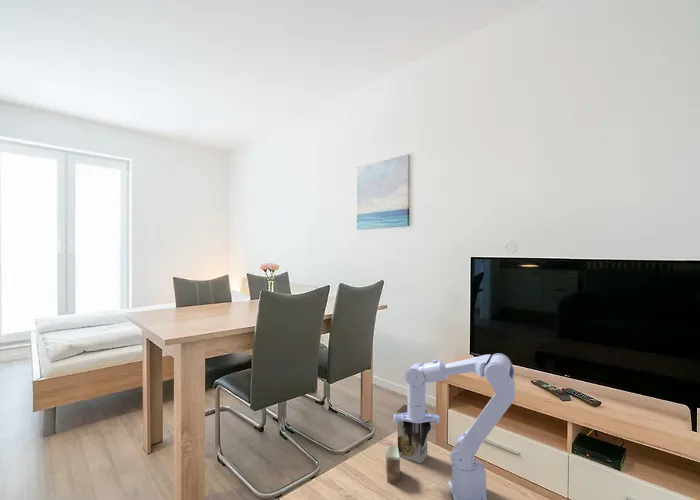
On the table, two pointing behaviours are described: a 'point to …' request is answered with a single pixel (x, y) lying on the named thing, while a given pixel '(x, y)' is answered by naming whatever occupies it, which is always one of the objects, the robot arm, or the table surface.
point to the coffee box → (416, 450)
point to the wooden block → (392, 464)
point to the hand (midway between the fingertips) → (416, 444)
